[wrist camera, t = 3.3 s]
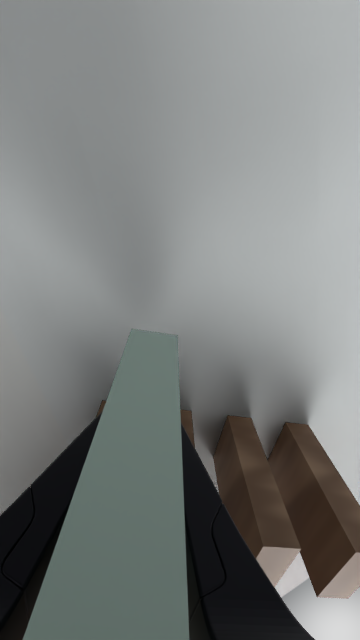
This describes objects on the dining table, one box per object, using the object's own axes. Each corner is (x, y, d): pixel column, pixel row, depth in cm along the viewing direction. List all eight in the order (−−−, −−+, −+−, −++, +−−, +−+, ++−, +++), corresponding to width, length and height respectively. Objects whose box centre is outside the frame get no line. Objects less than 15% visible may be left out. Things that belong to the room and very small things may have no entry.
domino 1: (177, 335, 11) (190, 659, 3) (160, 419, 13) (141, 747, 5) (131, 328, 11) (16, 656, 3) (121, 415, 12) (37, 749, 5)
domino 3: (308, 424, 20) (391, 554, 13) (287, 464, 22) (347, 598, 15) (285, 422, 20) (356, 552, 13) (266, 462, 22) (316, 597, 14)
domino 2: (251, 418, 20) (301, 548, 12) (234, 459, 22) (268, 595, 14) (227, 415, 20) (263, 546, 12) (213, 457, 22) (235, 593, 14)
